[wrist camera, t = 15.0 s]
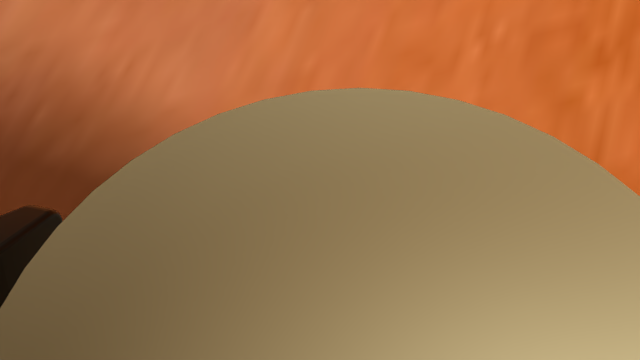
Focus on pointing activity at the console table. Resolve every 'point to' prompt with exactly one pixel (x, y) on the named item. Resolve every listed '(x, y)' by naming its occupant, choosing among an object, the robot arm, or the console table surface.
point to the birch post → (341, 243)
